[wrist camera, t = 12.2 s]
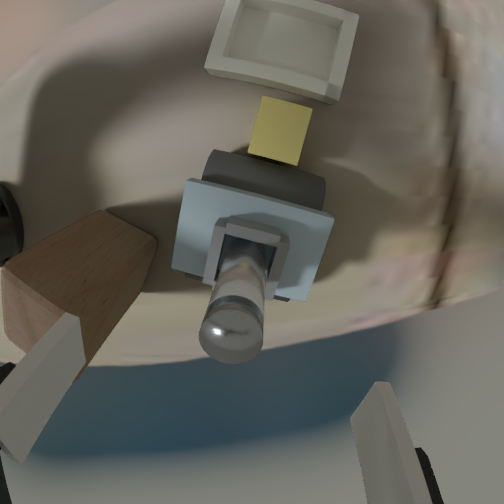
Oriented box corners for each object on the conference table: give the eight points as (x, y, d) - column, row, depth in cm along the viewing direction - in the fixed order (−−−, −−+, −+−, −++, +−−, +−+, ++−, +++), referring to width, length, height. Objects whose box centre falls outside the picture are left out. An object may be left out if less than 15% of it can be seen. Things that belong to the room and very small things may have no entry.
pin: (223, 266, 29) (194, 354, 16) (232, 231, 27) (204, 306, 15) (259, 275, 29) (253, 369, 17) (270, 241, 27) (270, 322, 15)
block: (162, 237, 38) (81, 322, 19) (140, 295, 41) (73, 390, 22) (101, 205, 36) (-3, 261, 18) (86, 264, 40) (2, 337, 21)
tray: (210, 75, 30) (203, 67, 26) (235, -2, 26) (231, -16, 22) (331, 104, 30) (339, 100, 27) (350, 26, 26) (359, 15, 23)
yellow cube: (250, 151, 33) (247, 152, 28) (263, 103, 31) (262, 95, 25) (292, 162, 33) (297, 165, 28) (305, 114, 31) (312, 108, 26)
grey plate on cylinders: (188, 260, 38) (160, 305, 28) (211, 146, 33) (185, 149, 22) (290, 286, 39) (297, 339, 28) (326, 176, 34) (352, 193, 23)
